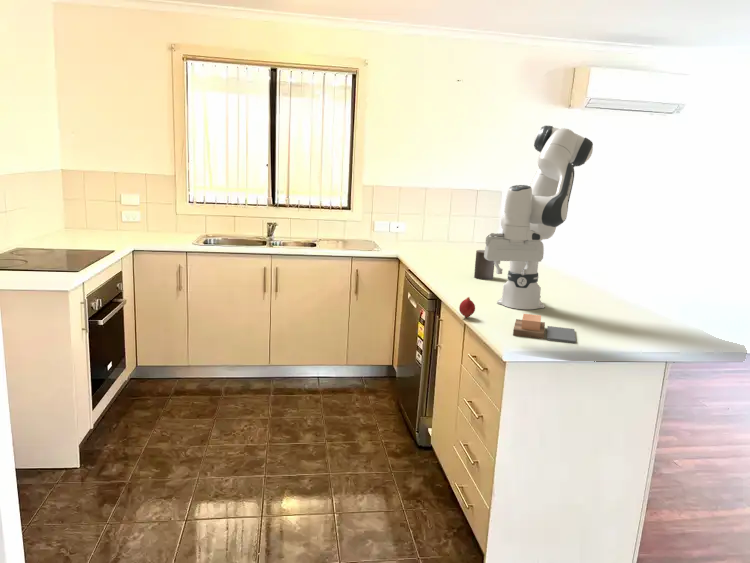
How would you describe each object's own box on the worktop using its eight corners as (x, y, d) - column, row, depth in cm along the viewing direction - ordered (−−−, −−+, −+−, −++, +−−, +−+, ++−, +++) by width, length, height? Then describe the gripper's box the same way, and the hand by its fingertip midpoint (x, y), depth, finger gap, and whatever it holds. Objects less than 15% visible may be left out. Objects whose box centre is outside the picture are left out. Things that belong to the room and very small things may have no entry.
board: (515, 324, 203) (516, 319, 202) (544, 327, 200) (544, 322, 199) (512, 335, 190) (513, 329, 189) (543, 338, 187) (544, 333, 186)
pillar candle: (472, 278, 283) (475, 249, 280) (475, 275, 292) (477, 246, 289) (492, 280, 281) (495, 251, 277) (494, 277, 290) (496, 248, 286)
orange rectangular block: (522, 321, 199) (523, 313, 199) (540, 323, 198) (541, 315, 197) (521, 328, 191) (522, 320, 190) (539, 330, 189) (540, 321, 188)
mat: (547, 328, 200) (547, 325, 199) (574, 331, 197) (574, 328, 197) (546, 340, 186) (547, 337, 185) (575, 343, 183) (575, 341, 183)
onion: (456, 317, 209) (457, 297, 207) (462, 314, 214) (464, 294, 212) (470, 320, 206) (472, 299, 204) (476, 317, 211) (478, 296, 209)
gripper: (489, 234, 185) (486, 275, 188) (547, 235, 189) (543, 276, 191) (483, 231, 191) (479, 271, 194) (539, 233, 195) (535, 272, 197)
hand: (511, 273), depth 193 cm, fingers open, 8 cm apart
